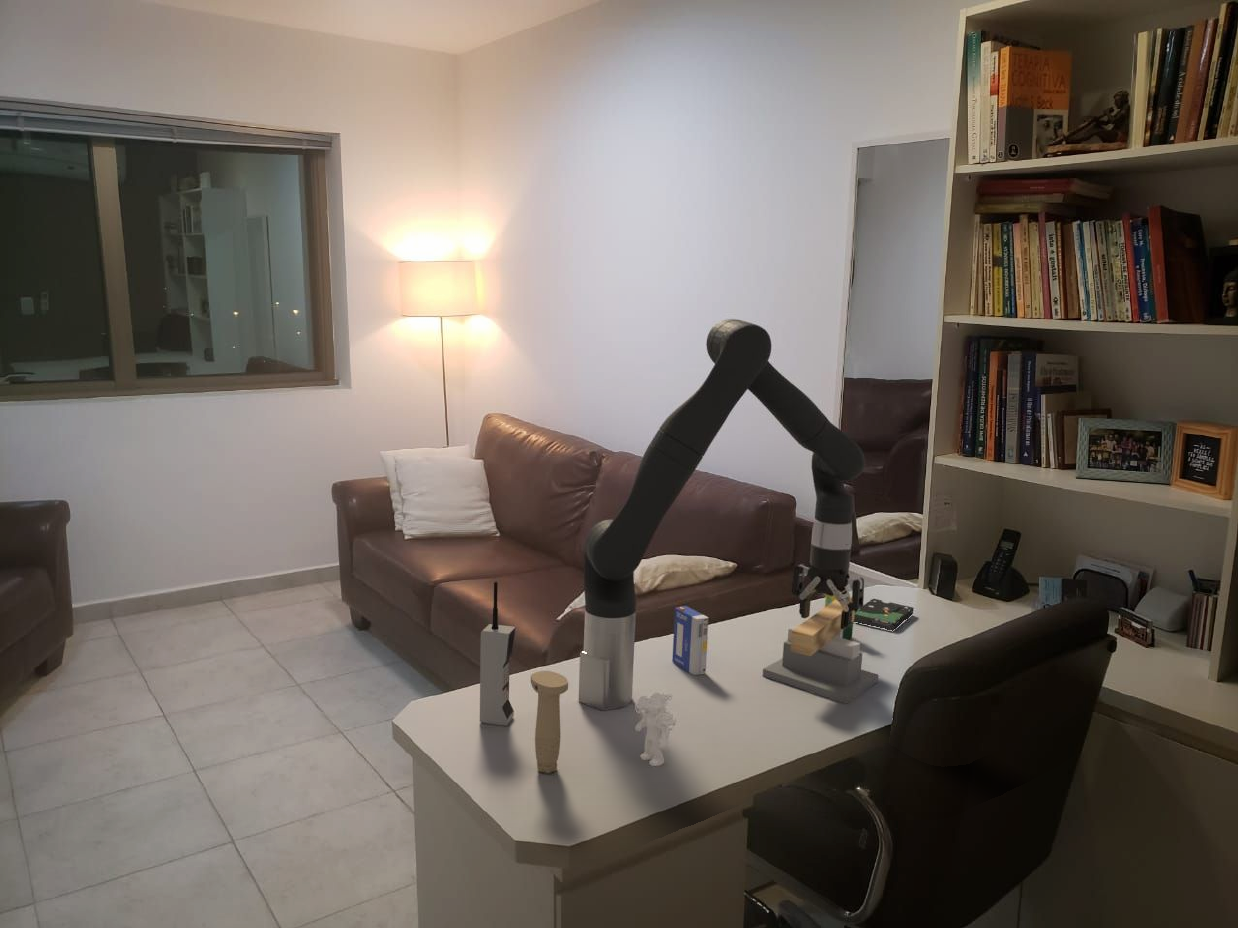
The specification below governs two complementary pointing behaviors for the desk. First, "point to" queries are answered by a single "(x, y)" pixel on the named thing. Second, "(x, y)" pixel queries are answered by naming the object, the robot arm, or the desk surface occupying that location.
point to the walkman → (690, 640)
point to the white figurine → (655, 726)
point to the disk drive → (882, 614)
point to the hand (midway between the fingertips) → (824, 622)
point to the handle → (548, 718)
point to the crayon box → (844, 633)
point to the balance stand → (824, 670)
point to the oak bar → (818, 630)
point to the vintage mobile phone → (495, 670)
